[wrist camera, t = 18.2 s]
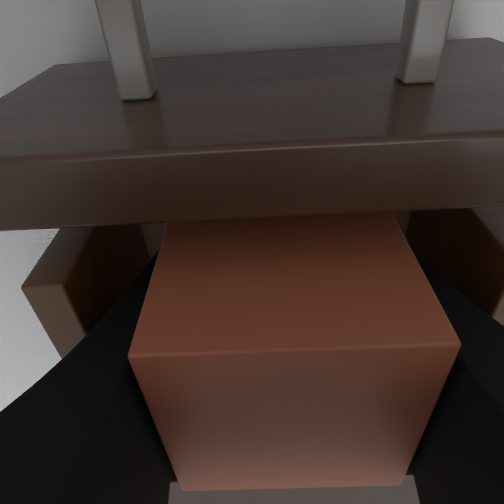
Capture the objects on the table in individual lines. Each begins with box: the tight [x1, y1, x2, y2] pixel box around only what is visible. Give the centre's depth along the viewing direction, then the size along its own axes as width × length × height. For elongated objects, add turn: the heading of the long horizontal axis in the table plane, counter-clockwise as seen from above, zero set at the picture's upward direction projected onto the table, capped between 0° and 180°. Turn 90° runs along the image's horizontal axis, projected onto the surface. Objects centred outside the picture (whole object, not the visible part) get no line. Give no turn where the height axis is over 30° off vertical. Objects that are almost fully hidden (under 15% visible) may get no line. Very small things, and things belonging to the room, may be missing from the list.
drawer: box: [0, 0, 504, 359], centre depth 10 cm, size 18×11×6 cm, turn 3°
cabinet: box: [168, 464, 420, 504], centre depth 17 cm, size 14×12×8 cm
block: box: [128, 212, 461, 491], centre depth 9 cm, size 4×4×6 cm
